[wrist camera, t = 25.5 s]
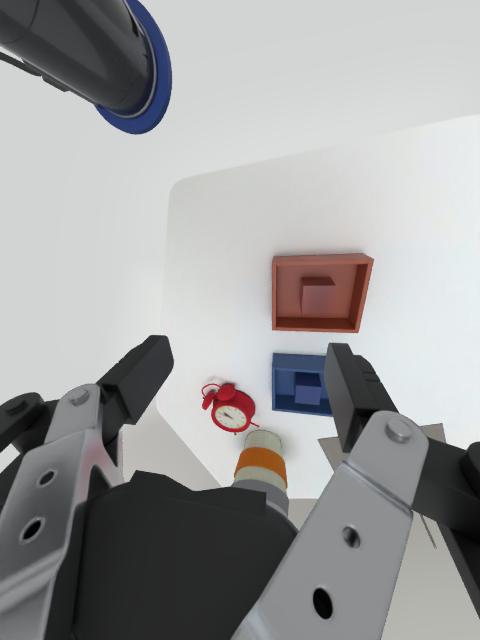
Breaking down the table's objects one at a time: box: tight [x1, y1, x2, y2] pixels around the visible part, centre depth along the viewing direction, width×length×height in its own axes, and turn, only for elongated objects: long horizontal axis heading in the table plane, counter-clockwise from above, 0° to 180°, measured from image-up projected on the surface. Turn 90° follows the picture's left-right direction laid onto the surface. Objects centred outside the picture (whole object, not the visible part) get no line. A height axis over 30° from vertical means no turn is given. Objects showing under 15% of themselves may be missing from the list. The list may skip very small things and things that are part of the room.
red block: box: [300, 277, 336, 315], centre depth 33 cm, size 4×4×4 cm
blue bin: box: [272, 353, 333, 417], centre depth 41 cm, size 13×11×4 cm
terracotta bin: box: [272, 253, 374, 333], centre depth 33 cm, size 13×11×4 cm
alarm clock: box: [202, 384, 259, 435], centre depth 49 cm, size 10×6×15 cm
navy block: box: [294, 372, 322, 405], centre depth 41 cm, size 4×4×4 cm
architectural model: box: [318, 424, 446, 548], centre depth 44 cm, size 21×25×14 cm
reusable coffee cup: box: [231, 430, 289, 519], centre depth 49 cm, size 12×13×15 cm
